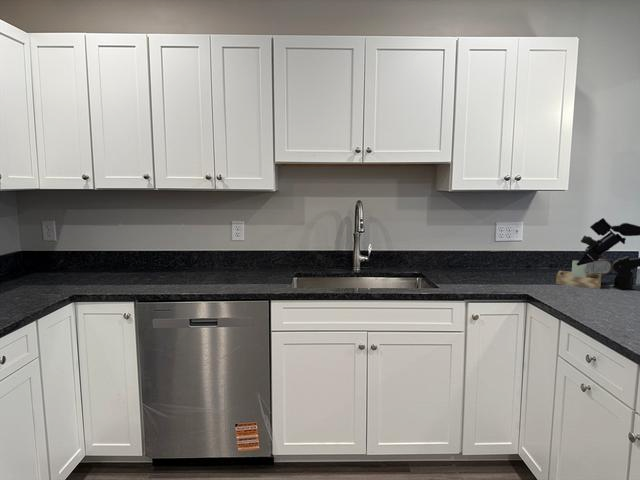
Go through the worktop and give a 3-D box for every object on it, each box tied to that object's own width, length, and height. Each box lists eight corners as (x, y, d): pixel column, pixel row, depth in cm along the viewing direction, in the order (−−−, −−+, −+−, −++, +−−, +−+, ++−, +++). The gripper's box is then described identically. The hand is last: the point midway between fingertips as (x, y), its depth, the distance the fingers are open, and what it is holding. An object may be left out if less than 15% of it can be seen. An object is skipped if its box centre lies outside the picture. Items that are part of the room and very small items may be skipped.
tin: (608, 273, 229) (610, 258, 228) (612, 274, 226) (613, 259, 225) (580, 273, 230) (581, 258, 229) (583, 274, 227) (584, 259, 226)
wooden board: (600, 283, 204) (601, 274, 204) (600, 288, 193) (600, 279, 192) (558, 279, 214) (559, 270, 214) (556, 284, 203) (556, 275, 202)
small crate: (585, 281, 204) (587, 261, 203) (585, 283, 199) (586, 263, 198) (571, 279, 208) (573, 260, 206) (570, 282, 203) (572, 262, 202)
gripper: (593, 228, 206) (566, 249, 213) (592, 231, 190) (563, 253, 198) (611, 245, 202) (583, 265, 210) (612, 250, 187) (581, 271, 194)
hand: (577, 263), depth 203 cm, fingers open, 9 cm apart
